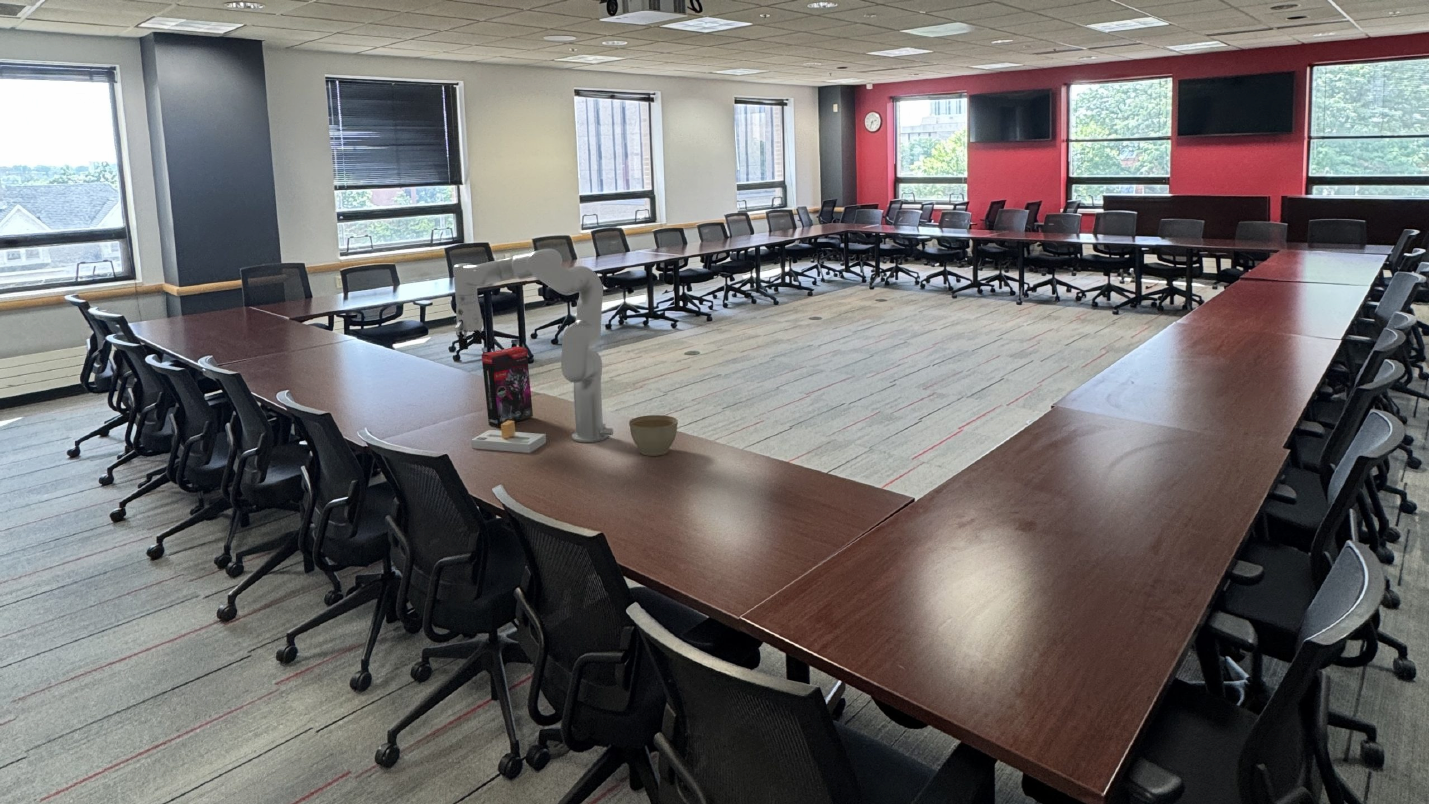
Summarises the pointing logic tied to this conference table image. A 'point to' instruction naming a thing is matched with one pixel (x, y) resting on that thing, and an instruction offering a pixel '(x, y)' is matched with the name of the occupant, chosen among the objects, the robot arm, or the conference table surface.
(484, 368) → the graphics card box
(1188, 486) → the conference table surface
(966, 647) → the conference table surface
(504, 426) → the orange slider handle
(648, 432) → the planter bowl
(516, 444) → the slider switch
